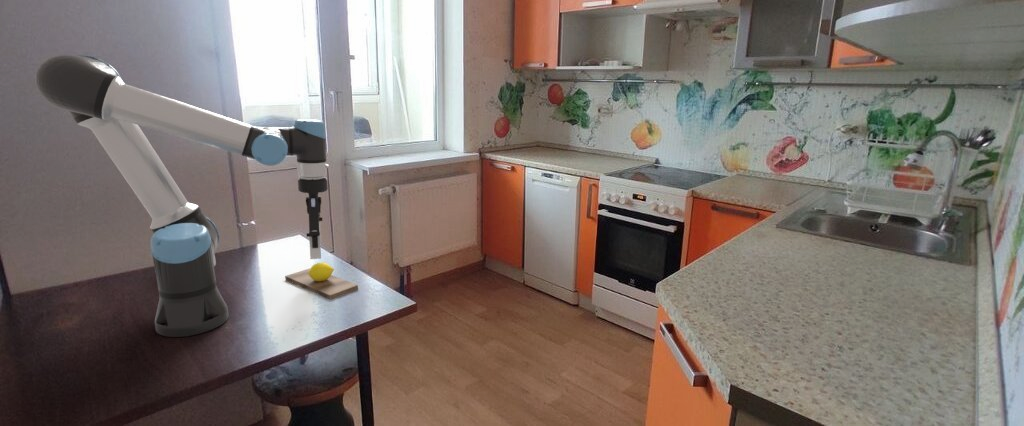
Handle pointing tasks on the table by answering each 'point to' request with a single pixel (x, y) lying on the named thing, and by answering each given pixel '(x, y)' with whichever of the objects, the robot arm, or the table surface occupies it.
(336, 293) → the cutting board
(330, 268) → the lemon
